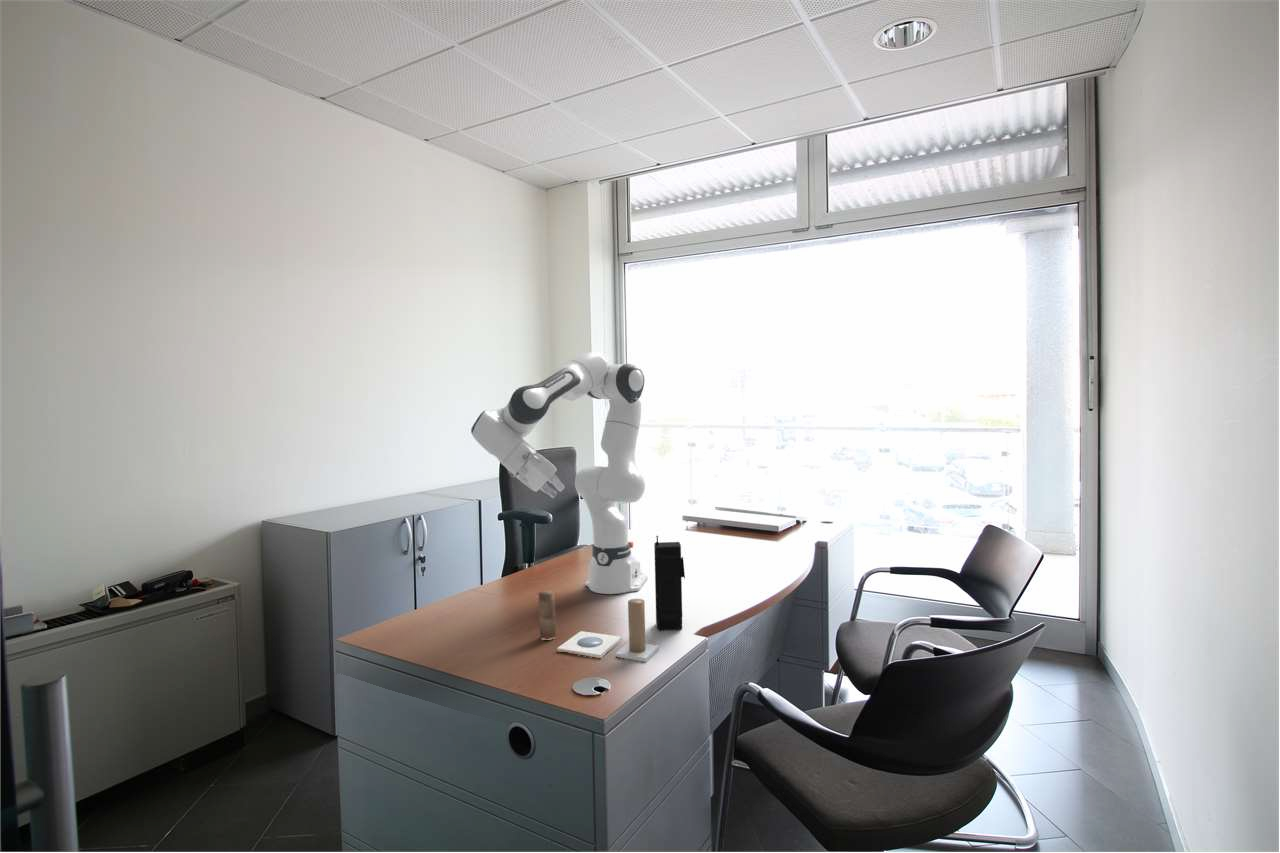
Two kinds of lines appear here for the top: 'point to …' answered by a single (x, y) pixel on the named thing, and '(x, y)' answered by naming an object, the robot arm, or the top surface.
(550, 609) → the walnut pin
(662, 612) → the portable radio
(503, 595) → the top surface
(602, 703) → the top surface
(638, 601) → the tan wooden dowel
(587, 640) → the plate
